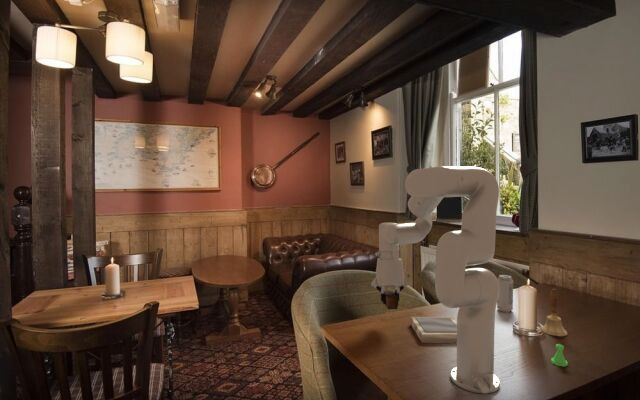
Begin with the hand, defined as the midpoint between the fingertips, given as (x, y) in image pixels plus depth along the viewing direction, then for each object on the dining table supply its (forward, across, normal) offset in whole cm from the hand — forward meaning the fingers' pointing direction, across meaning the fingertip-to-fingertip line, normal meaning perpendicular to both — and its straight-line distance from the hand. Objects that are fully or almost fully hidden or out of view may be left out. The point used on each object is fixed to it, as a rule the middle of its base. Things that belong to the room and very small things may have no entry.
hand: (390, 302), depth 137 cm
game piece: (+12, +46, -27) cm, 55 cm away
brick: (+1, 0, 0) cm, 1 cm away
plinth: (+10, +16, -5) cm, 20 cm away
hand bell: (+11, +60, -4) cm, 61 cm away
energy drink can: (+10, +52, +18) cm, 56 cm away
